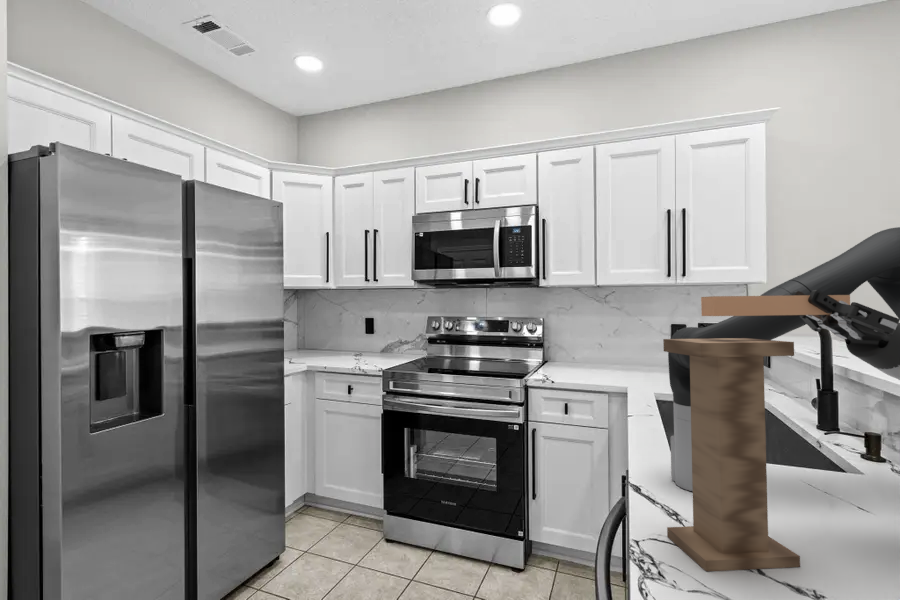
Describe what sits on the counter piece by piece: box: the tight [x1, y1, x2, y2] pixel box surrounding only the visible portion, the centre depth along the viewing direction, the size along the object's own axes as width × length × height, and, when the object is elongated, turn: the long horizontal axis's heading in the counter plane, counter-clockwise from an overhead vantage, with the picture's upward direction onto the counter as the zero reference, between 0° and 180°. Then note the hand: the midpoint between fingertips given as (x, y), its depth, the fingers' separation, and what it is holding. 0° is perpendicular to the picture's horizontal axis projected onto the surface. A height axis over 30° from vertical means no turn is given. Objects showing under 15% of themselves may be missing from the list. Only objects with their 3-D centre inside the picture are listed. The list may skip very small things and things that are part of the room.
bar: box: [700, 294, 851, 317], centre depth 71 cm, size 22×3×3 cm, turn 94°
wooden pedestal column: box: [662, 338, 801, 572], centre depth 70 cm, size 14×10×32 cm
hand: (802, 295), depth 72 cm, fingers closed on bar, 3 cm apart
